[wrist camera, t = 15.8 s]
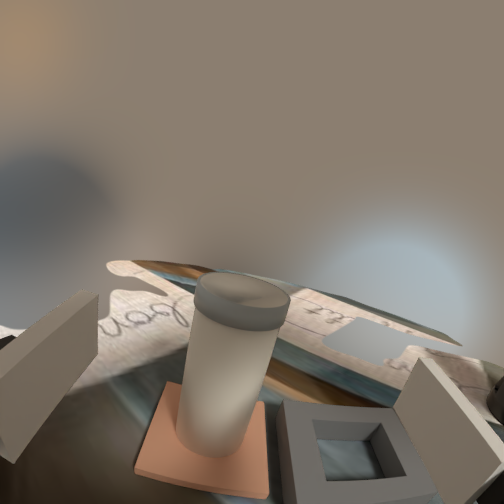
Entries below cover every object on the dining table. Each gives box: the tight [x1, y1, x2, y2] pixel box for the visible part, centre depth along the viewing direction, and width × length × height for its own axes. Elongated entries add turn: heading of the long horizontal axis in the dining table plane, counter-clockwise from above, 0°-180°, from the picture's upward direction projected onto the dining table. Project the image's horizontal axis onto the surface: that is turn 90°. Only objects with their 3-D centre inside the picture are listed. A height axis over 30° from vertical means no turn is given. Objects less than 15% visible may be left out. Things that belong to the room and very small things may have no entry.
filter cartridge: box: [176, 272, 291, 458], centre depth 24 cm, size 7×7×15 cm
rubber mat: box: [134, 381, 269, 499], centre depth 25 cm, size 11×13×1 cm
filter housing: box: [275, 399, 438, 504], centre depth 24 cm, size 14×14×3 cm
